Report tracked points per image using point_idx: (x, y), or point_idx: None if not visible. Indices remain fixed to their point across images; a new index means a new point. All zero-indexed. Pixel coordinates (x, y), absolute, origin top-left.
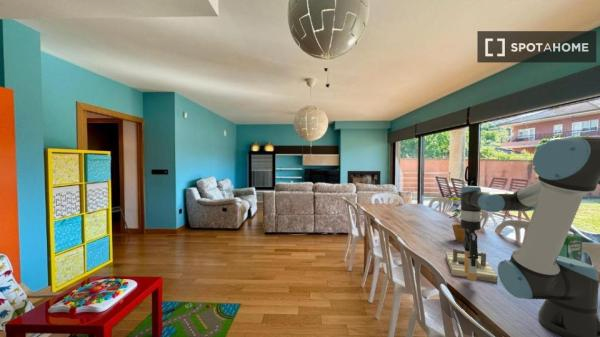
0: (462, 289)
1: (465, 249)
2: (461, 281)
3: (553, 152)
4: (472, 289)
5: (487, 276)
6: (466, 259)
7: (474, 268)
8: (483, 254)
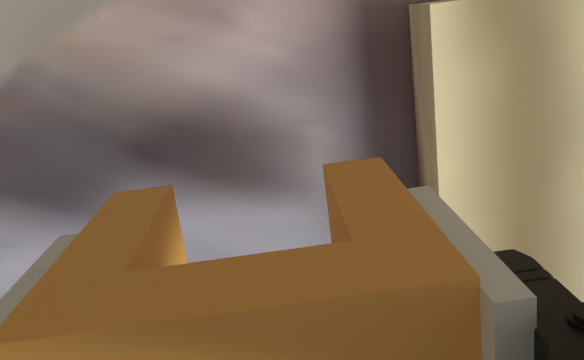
0: (49, 108)
1: (548, 337)
2: (265, 103)
3: None
4: None
5: None
6: (238, 269)
7: None
8: None
